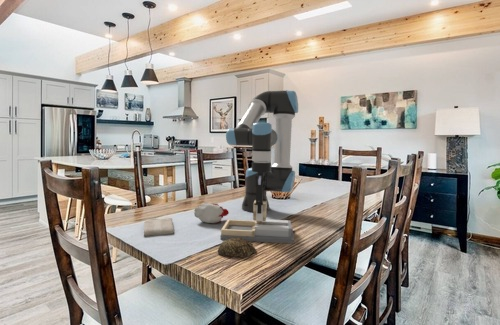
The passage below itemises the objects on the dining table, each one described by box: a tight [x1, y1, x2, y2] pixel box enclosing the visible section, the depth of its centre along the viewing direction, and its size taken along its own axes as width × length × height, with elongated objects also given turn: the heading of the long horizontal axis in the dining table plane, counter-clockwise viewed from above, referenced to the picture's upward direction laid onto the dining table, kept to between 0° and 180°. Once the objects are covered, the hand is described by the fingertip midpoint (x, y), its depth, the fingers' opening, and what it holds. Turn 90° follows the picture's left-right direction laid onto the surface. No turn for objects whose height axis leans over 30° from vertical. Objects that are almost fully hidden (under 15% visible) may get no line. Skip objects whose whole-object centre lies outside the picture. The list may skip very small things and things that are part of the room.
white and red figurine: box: [193, 202, 229, 224], centre depth 133 cm, size 9×11×15 cm
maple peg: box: [252, 200, 268, 229], centre depth 116 cm, size 6×6×12 cm
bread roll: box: [217, 238, 257, 259], centre depth 100 cm, size 13×12×5 cm
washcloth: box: [143, 217, 175, 237], centre depth 122 cm, size 12×18×3 cm, turn 19°
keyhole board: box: [219, 218, 295, 245], centre depth 117 cm, size 28×16×5 cm, turn 84°
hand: (259, 218), depth 116 cm, fingers closed on maple peg, 5 cm apart
